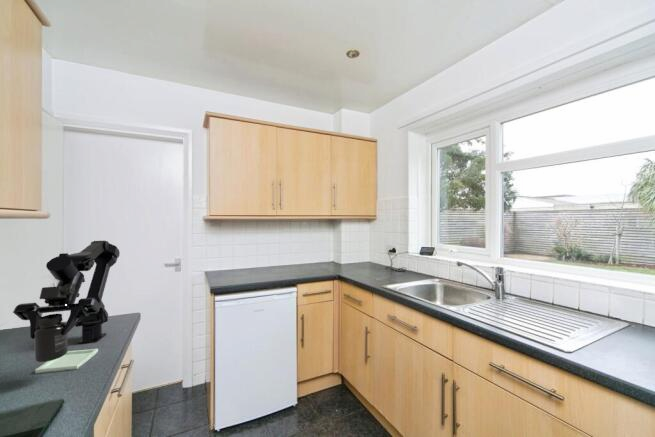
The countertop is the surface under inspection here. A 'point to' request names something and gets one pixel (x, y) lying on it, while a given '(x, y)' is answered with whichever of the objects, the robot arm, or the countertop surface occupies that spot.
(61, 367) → the sage tray
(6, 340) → the countertop surface
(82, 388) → the countertop surface
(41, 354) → the supplement bottle
